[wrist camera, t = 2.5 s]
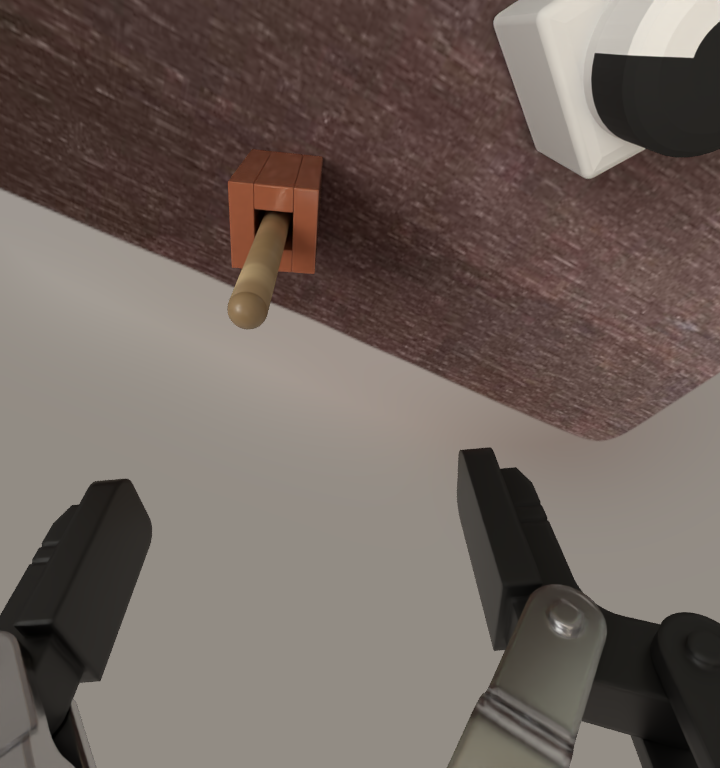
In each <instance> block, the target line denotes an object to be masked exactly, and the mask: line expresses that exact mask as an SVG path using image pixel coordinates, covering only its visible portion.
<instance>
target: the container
mask: <svg viewBox="0 0 720 768" xmlns="http://www.w3.org/2000/svg"><path fill="white" fill-rule="evenodd" d="M493 23H494V29H495V32H496V34H497V37H498V40H499V43H500V46H501V49H502V52H503V55H504V58H505V61H506V63H507V66H508V69H509V72H510V75H511V78H512V81H513V84H514V87H515V89H516V92H517V95H518V98H519V101H520V104H521V107H522V110H523V113H524V116H525V118H526V121H527V124H528V127H529V130H530V133H531V136H532V139H533V142H534V144H535V147H536V149H537V151H539V152H541V153H542V154H544V155H546V156H547V157H549V158H551V159H553V160H554V161H556V162H558V163H559V164H561V165H563V166H565V167H566V168H568V169H570V170H572V171H573V172H575V173H577V174H578V175H580V176H582V177H584V178H587V179H590V178H594V177H596V176H597V175H599V174H601V173H603V172H605V171H606V170H608V169H610V168H612V167H614V166H616V165H617V164H619V163H621V162H623V161H625V160H626V159H628V158H630V157H632V156H634V155H636V154H637V153H639V152H641V151H643V150H645V149H649V150H651V151H654V152H657V153H660V154H663V155H666V156H671V157H693V156H699V155H703V154H706V153H710V152H713V151H715V150H718V149H720V0H518V1H517V2H515V3H514V4H512V5H511V6H509V7H508V8H506V9H505V10H503V11H502V12H500V13H499V14H498V15H497V16H496V17H495V19H494V22H493Z"/></svg>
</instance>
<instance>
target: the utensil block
mask: <svg viewBox="0 0 720 768" xmlns="http://www.w3.org/2000/svg"><path fill="white" fill-rule="evenodd" d="M322 168H323V157H321V156H312V155H302V154H292V153H283V152H271V151H264V150H254V149H252V150H251V151H250V153H249V154H248V155H247V157H246V158H245V159H244V161H243V162H242V164H241V165H240V166H239V168H238V169H237V170H236V172H235V173H234V174H233V176H232V177H231V178H230V180H229V181H228V195H229V216H230V237H231V258H232V267H233V268H243V266H244V263H245V261H246V258H247V256H248V253H249V251H250V249H251V246H252V244H253V241H254V239H255V236H256V234H257V231H258V229H259V226H260V224H261V222H262V219H263V217H264V214H265V212H266V210H269V211H279V212H290V213H292V212H293V214H292V218H291V222H290V226H289V230H288V234H287V238H286V242H285V246H284V250H283V254H282V258H281V262H280V266H279V270H278V271H281V272H295V273H307V274H314V273H315V264H316V254H317V244H318V234H319V222H320V204H321V186H322Z"/></svg>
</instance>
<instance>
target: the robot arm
mask: <svg viewBox="0 0 720 768" xmlns="http://www.w3.org/2000/svg"><path fill="white" fill-rule="evenodd" d="M458 459H459V460H458V482H457V503H458V510H459V516H460V520H461V524H462V528H463V532H464V536H465V540H466V544H467V548H468V552H469V555H470V560H471V563H472V567H473V571H474V575H475V579H476V583H477V587H478V591H479V595H480V599H481V602H482V606H483V610H484V614H485V618H486V622H487V626H488V630H489V634H490V637H491V642H492V646H493V649H494V651H496V650H505V652H504V654H503V656H502V659H501V661H500V663H499V665H498V668H497V670H496V672H495V674H494V676H493V679H492V681H491V683H490V686H489V687H488V689H487V691H486V692H485V693H483V694H482V695H481V697H480V698H479V700H478V702H477V704H476V706H475V708H474V710H473V712H472V714H471V717H470V718H469V721H468V723H467V725H466V727H465V729H464V731H463V734H462V736H461V738H460V741H459V743H458V745H457V747H456V749H455V751H454V754H453V756H452V758H451V760H450V762H449V764H448V767H447V768H569V766H570V763H571V759H572V755H573V749H574V744H575V740H576V737H577V734H578V730H579V727H580V723H581V721H584V722H587V723H591V724H594V725H598V726H601V727H604V728H608V729H612V730H615V731H618V732H622V733H625V734H629V735H631V738H632V740H633V743H634V746H635V748H636V751H637V754H638V757H639V760H640V762H641V765H642V768H720V623H718V622H716V621H714V620H712V619H710V618H708V617H706V616H703V615H699V614H695V613H687V612H682V613H675V614H672V615H670V616H668V617H666V618H665V619H664V620H663V621H662V623H661V625H660V624H656V623H651V622H647V621H642V620H638V619H634V618H629V617H625V616H621V615H618V614H614V613H612V612H610V611H607V610H605V609H603V608H602V607H600V606H598V605H597V604H595V602H594V601H593V600H591V599H590V598H589V597H588V596H587V595H585V594H584V593H583V592H582V591H581V589H580V588H579V587H578V585H577V584H576V582H575V580H574V578H573V576H572V573H571V571H570V569H569V566H568V564H567V562H566V559H565V557H564V555H563V553H562V550H561V548H560V546H559V543H558V541H557V539H556V536H555V534H554V532H553V530H552V527H551V525H550V523H549V521H547V516H546V514H545V511H544V509H543V507H542V506H541V504H540V500H539V498H538V495H537V493H536V491H535V488H534V486H533V484H532V482H531V481H529V479H528V478H526V477H525V476H524V475H523V474H522V473H521V472H520V471H519V470H518V469H517V468H516V467H515V468H504V469H500V468H499V465H498V462H497V460H496V457H495V454H494V452H493V450H492V448H479V449H467V450H460V451H459V458H458ZM151 538H152V525H151V521H150V518H149V516H148V514H147V512H146V510H145V508H144V506H143V504H142V502H141V500H140V498H139V496H138V494H137V492H136V490H135V488H134V486H133V484H132V483H131V481H130V480H129V479H116V480H105V481H95V482H93V483H92V484H91V485H90V486H89V488H88V490H87V491H86V493H85V495H84V497H83V499H82V500H81V502H80V504H79V505H72V506H71V507H70V508H69V509H68V510H67V511H66V512H65V513H64V514H63V515H61V516H60V517H59V518H58V519H57V520H56V521H55V522H54V523H53V525H52V527H51V528H50V530H49V532H48V534H47V535H46V537H45V539H44V540H43V542H42V547H41V548H39V549H38V551H37V553H36V554H35V556H34V558H33V560H32V564H30V565H29V566H28V568H27V570H26V572H25V573H24V575H23V577H22V579H21V580H20V582H19V584H18V586H17V587H16V589H15V591H14V592H13V594H12V596H11V597H10V599H9V601H8V603H7V604H6V606H5V608H4V610H3V611H2V613H1V615H0V768H96V765H95V761H94V758H93V755H92V752H91V748H90V745H89V742H88V739H87V735H86V732H85V729H84V726H83V723H82V719H81V716H80V713H79V710H78V706H77V704H76V702H75V700H74V699H73V697H74V695H75V692H76V690H77V687H78V685H79V683H82V682H94V681H100V680H101V678H102V675H103V672H104V670H105V667H106V664H107V661H108V659H109V656H110V653H111V651H112V648H113V645H114V642H115V639H116V637H117V634H118V631H119V629H120V626H121V623H122V620H123V618H124V615H125V612H126V609H127V606H128V604H129V601H130V598H131V596H132V593H133V590H134V587H135V585H136V582H137V579H138V576H139V574H140V571H141V568H142V566H143V563H144V560H145V557H146V555H147V552H148V549H149V546H150V543H151Z"/></svg>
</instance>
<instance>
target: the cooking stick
mask: <svg viewBox="0 0 720 768" xmlns="http://www.w3.org/2000/svg"><path fill="white" fill-rule="evenodd" d="M292 214H293V212H292V213H290V212H279V211H269V210H266V212H265V214H264V217H263V219H262V222H261V224H260V226H259V229H258V231H257V234H256V236H255V239H254V241H253V244H252V246H251V249H250V251H249V253H248V256H247V258H246V261H245V263H244V266H243V268H242V271H241V273H240V276H239V278H238V280H237V283H236V285H235V288H234V290H233V293H232V296H231V298H230V300H229V303H228V315H229V318H230V319H231V321H232V322H233V323H234V324H235V325H236V326H238V327H240V328H242V329H254V328H257V327H258V326H260V325H261V324H262V323H263V322H264V321H265V319H266V317H267V314H268V310H269V306H270V302H271V298H272V294H273V290H274V286H275V282H276V278H277V274H278V270H279V266H280V262H281V258H282V254H283V250H284V246H285V242H286V238H287V234H288V230H289V226H290V222H291V218H292Z"/></svg>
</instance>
